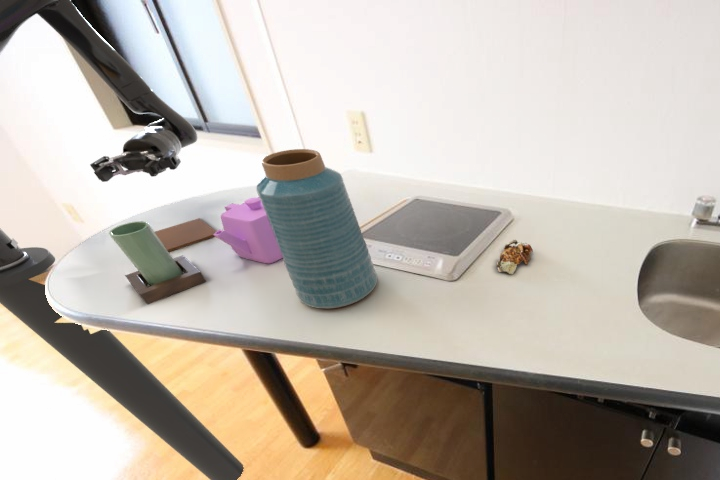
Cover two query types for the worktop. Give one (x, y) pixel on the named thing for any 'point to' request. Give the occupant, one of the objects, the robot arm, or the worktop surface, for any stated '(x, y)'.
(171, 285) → the rectangular frame
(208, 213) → the worktop surface
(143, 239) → the cup
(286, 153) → the vase
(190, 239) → the mat
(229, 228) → the teakettle
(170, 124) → the robot arm
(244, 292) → the worktop surface
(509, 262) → the pastry
